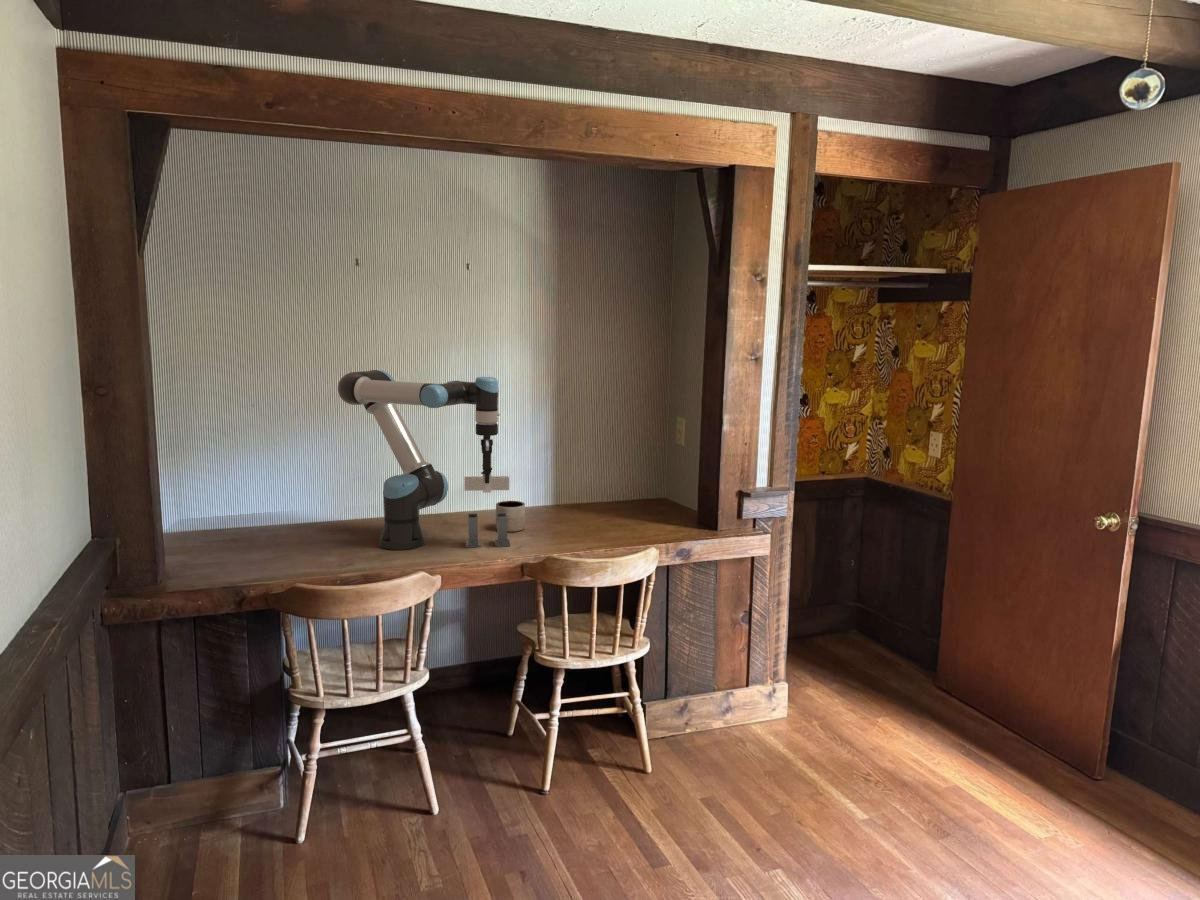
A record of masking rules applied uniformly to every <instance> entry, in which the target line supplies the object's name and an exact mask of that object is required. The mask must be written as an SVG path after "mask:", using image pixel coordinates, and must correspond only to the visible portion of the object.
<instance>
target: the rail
mask: <svg viewBox="0 0 1200 900" xmlns="http://www.w3.org/2000/svg"><path fill="white" fill-rule="evenodd" d="M463 480H464V483H463V485H464V486H463V487H464V491H465V492H466V491H467V492H468V491H473V492H475V491H483V476H464V479H463ZM491 491H510V476H509V475H505V476H504V475H503V476H501V475H499V476H495V475H494V476H493V475H491Z"/></svg>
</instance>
